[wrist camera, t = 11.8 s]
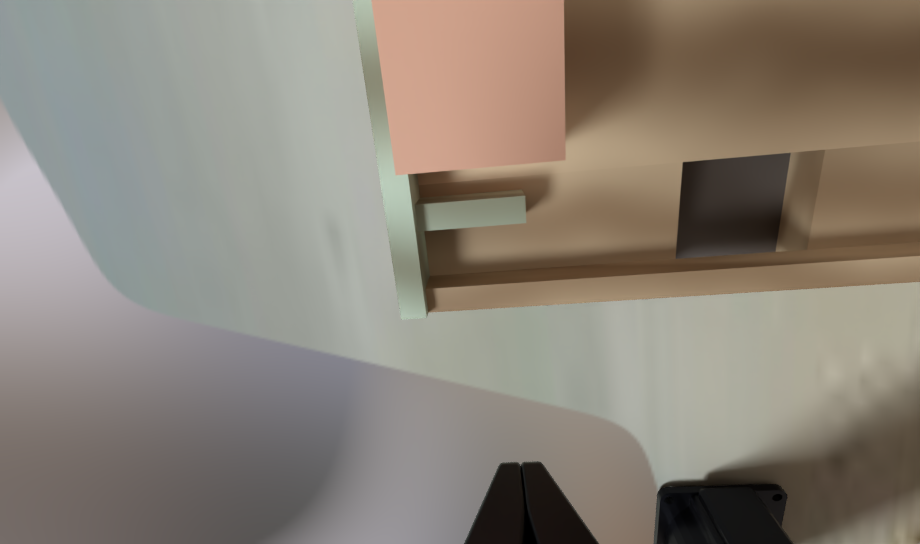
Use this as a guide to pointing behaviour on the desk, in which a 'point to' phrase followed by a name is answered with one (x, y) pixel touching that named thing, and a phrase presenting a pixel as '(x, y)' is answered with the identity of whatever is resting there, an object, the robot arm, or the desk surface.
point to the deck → (682, 162)
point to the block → (472, 82)
